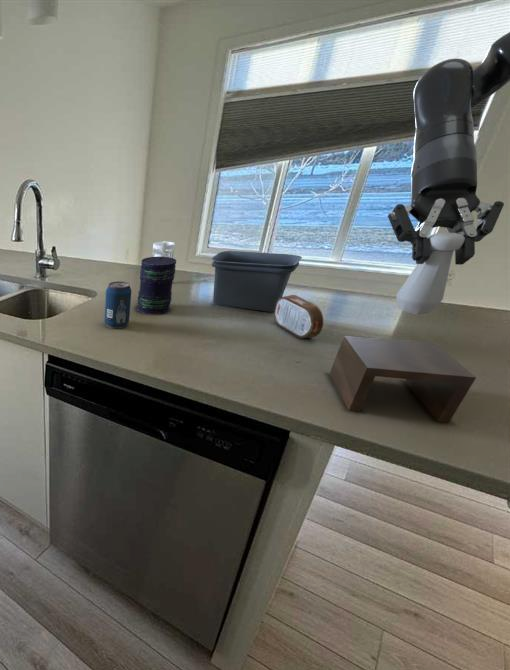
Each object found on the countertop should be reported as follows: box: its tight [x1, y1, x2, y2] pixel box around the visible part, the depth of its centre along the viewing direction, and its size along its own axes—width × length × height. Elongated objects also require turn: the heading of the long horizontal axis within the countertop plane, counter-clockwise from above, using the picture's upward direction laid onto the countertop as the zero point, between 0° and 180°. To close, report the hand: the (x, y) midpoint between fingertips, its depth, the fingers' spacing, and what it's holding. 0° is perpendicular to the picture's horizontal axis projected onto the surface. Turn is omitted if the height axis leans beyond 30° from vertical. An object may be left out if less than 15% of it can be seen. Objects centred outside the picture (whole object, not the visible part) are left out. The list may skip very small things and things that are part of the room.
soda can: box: [103, 281, 132, 329], centre depth 114 cm, size 7×7×12 cm
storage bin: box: [211, 250, 302, 313], centre depth 120 cm, size 21×16×14 cm
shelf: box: [329, 335, 477, 423], centre depth 75 cm, size 14×14×9 cm
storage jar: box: [136, 256, 177, 315], centre depth 122 cm, size 10×10×15 cm
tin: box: [273, 294, 324, 339], centre depth 102 cm, size 15×3×8 cm, turn 1°
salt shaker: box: [395, 231, 465, 315], centre depth 68 cm, size 6×6×13 cm
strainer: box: [151, 240, 176, 258], centre depth 144 cm, size 7×7×15 cm
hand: (442, 261), depth 65 cm, fingers closed on salt shaker, 4 cm apart
